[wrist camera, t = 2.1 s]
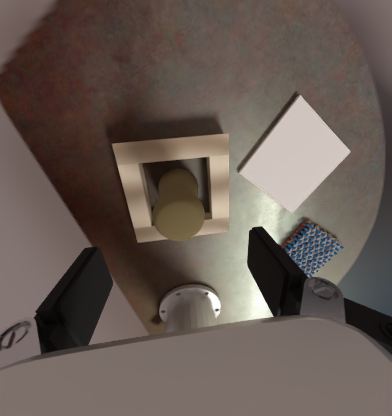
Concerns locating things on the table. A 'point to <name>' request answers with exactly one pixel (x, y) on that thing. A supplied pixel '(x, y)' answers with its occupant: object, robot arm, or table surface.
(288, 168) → the ceramic tile
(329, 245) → the woven mat
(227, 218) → the wooden holder
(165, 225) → the cork
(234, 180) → the table surface
